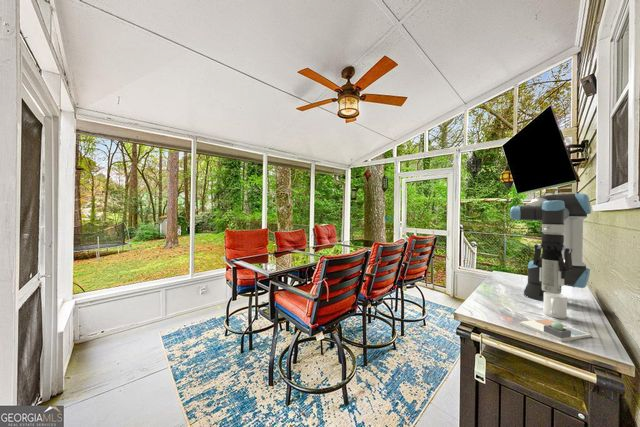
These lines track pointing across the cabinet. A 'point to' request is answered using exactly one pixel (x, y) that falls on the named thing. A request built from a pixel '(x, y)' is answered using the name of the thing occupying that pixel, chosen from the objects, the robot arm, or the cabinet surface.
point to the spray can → (550, 271)
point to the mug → (555, 305)
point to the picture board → (545, 328)
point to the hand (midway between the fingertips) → (551, 283)
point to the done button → (557, 326)
